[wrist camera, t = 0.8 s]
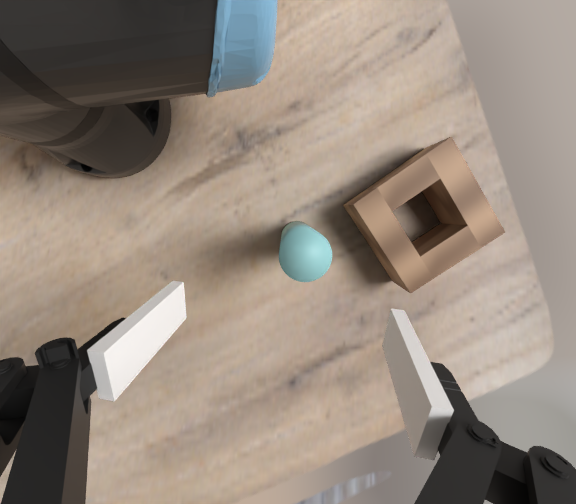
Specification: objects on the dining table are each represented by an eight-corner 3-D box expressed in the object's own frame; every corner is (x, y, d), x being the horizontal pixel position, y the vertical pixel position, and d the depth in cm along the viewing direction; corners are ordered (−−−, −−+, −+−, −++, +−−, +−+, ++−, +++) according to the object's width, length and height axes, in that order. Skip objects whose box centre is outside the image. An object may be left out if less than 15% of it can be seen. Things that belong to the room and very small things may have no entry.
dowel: (275, 233, 34) (268, 249, 20) (301, 214, 33) (312, 218, 19) (293, 258, 34) (298, 291, 20) (318, 240, 34) (342, 262, 20)
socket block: (343, 205, 33) (353, 204, 28) (425, 147, 32) (451, 136, 27) (392, 281, 35) (410, 293, 30) (473, 229, 34) (505, 232, 29)
